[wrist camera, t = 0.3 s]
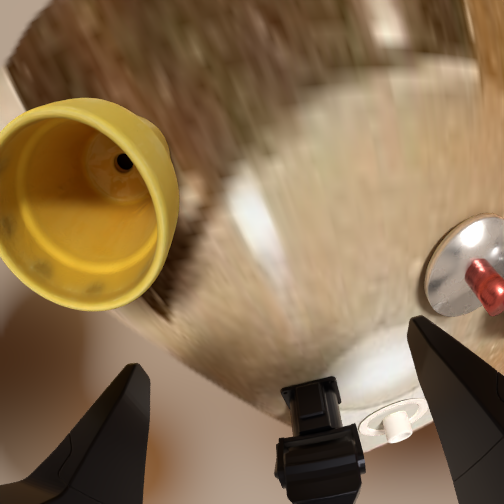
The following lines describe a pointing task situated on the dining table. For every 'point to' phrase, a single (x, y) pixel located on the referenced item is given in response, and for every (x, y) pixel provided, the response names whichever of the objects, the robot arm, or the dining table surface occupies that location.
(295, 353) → the dining table surface
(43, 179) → the plant pot
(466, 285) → the lid
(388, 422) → the candle holder
